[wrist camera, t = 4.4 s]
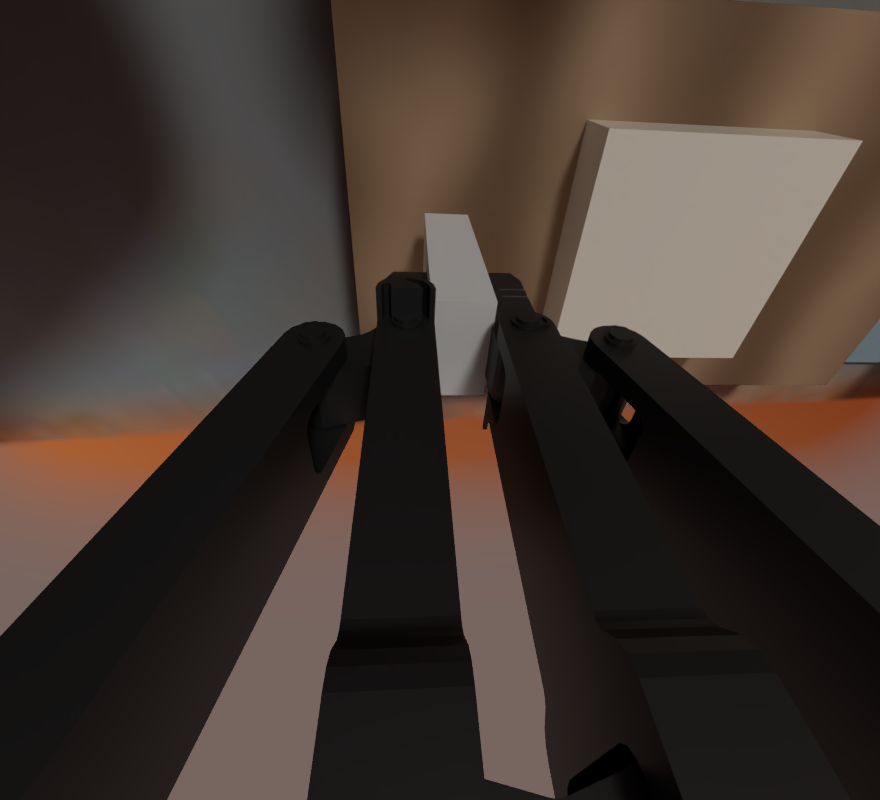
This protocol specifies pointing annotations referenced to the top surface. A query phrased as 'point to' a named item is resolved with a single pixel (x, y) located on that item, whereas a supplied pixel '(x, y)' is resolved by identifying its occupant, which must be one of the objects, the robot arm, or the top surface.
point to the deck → (613, 99)
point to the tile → (686, 228)
